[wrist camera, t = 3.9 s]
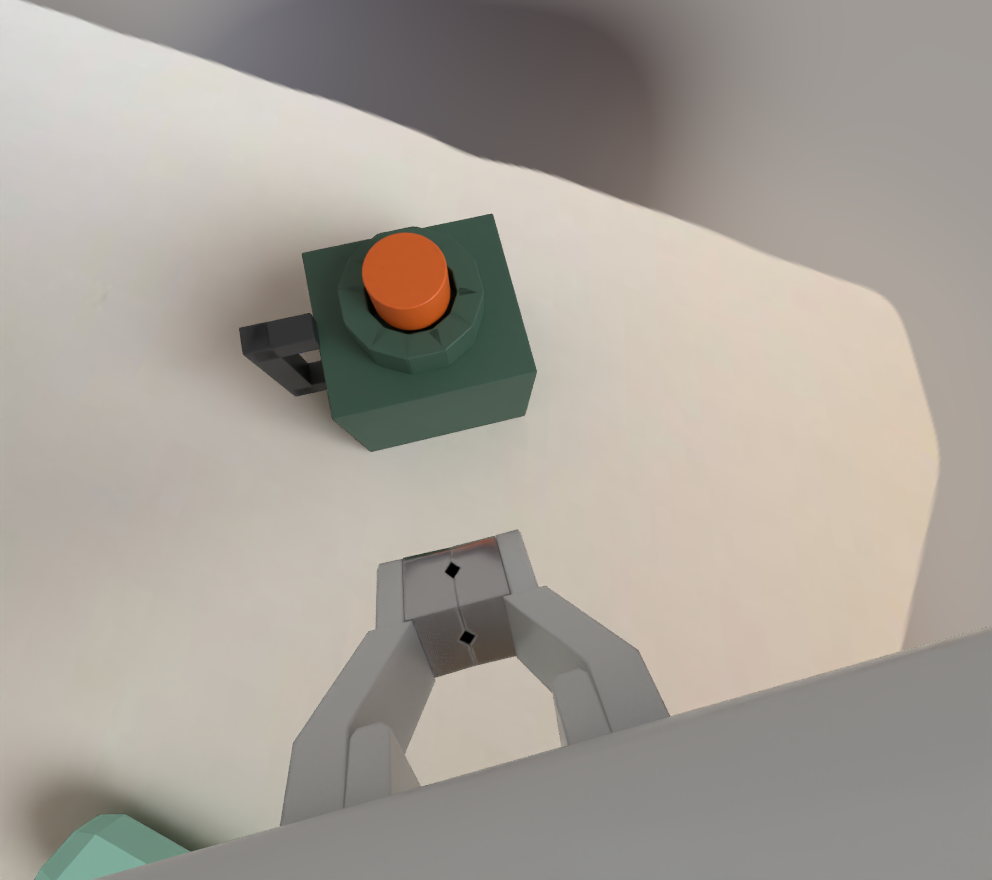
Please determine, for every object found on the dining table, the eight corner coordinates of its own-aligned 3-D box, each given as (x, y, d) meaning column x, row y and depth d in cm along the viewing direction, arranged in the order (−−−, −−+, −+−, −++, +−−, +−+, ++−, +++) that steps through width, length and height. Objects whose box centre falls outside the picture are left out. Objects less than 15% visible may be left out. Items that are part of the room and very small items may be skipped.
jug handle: (295, 397, 30) (242, 354, 23) (291, 375, 30) (238, 327, 24) (352, 384, 30) (314, 338, 24) (347, 362, 30) (310, 312, 24)
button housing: (370, 452, 31) (318, 407, 22) (345, 322, 33) (285, 227, 23) (525, 415, 32) (541, 356, 22) (491, 290, 34) (493, 185, 24)
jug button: (381, 338, 23) (370, 317, 21) (366, 269, 23) (354, 241, 21) (458, 321, 23) (455, 298, 21) (441, 253, 24) (436, 224, 22)
